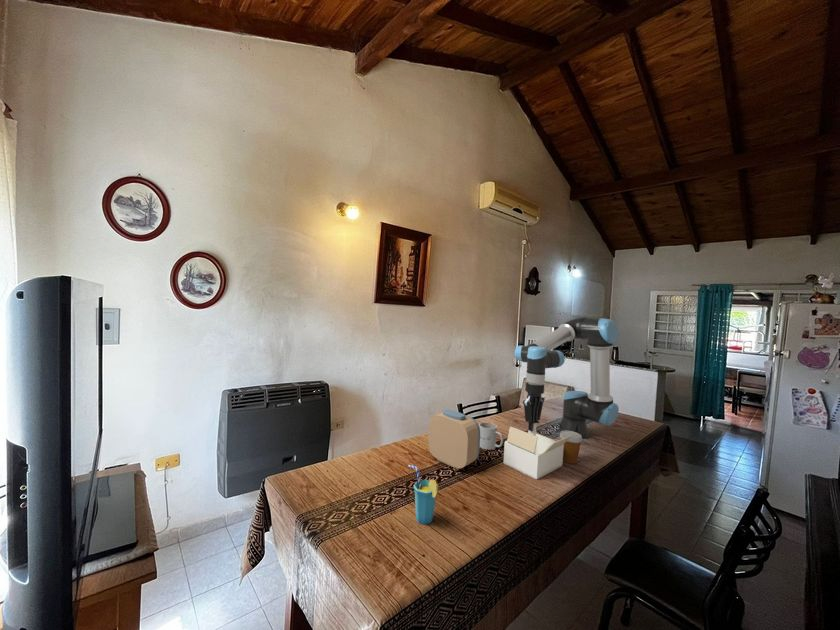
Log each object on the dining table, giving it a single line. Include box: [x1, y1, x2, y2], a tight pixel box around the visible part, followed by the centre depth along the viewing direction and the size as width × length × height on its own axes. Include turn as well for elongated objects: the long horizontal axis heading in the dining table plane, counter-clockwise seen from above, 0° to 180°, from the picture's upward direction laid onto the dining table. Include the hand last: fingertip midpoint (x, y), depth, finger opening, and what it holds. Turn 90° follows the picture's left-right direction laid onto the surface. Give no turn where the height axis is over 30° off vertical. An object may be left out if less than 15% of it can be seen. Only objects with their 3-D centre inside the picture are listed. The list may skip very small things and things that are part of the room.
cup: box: [407, 464, 439, 525], centre depth 105 cm, size 14×8×15 cm, turn 46°
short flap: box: [506, 425, 538, 453], centre depth 138 cm, size 6×13×1 cm
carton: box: [503, 431, 564, 481], centre depth 144 cm, size 21×17×10 cm
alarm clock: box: [427, 409, 481, 471], centre depth 142 cm, size 21×10×22 cm, turn 47°
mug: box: [478, 421, 504, 451], centre depth 160 cm, size 12×9×10 cm
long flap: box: [543, 435, 573, 454], centre depth 135 cm, size 15×7×1 cm
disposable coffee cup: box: [558, 431, 583, 465], centre depth 150 cm, size 10×10×12 cm
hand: (531, 437), depth 142 cm, fingers closed
